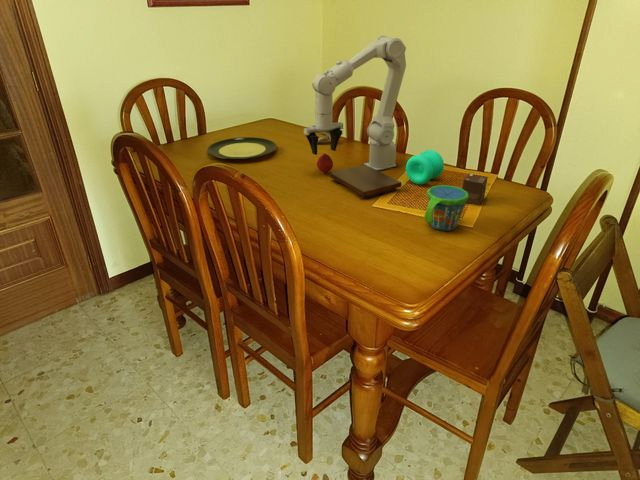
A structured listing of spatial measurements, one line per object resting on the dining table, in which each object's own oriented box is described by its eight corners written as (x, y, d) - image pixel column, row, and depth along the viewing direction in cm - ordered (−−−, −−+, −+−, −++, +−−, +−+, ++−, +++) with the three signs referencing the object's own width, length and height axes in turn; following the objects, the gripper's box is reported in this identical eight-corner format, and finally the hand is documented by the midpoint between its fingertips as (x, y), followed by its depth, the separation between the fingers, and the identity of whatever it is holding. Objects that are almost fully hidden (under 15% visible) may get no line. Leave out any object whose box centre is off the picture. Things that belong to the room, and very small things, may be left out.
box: (479, 205, 137) (483, 183, 133) (459, 201, 139) (462, 179, 136) (484, 198, 141) (488, 176, 137) (465, 194, 144) (468, 173, 140)
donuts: (402, 181, 154) (405, 153, 149) (418, 173, 161) (421, 146, 156) (428, 189, 148) (431, 160, 143) (443, 180, 155) (447, 152, 150)
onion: (335, 171, 163) (335, 150, 159) (330, 177, 158) (330, 155, 154) (319, 170, 165) (319, 148, 161) (314, 175, 160) (314, 153, 156)
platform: (365, 172, 162) (365, 164, 161) (400, 190, 147) (401, 182, 146) (329, 180, 156) (329, 172, 154) (363, 200, 141) (363, 191, 139)
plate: (290, 149, 186) (290, 143, 185) (246, 169, 166) (246, 162, 165) (239, 138, 200) (239, 133, 198) (192, 156, 179) (191, 150, 178)
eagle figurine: (336, 136, 197) (316, 132, 197) (338, 125, 190) (317, 121, 190) (333, 150, 193) (312, 145, 193) (335, 139, 187) (313, 135, 187)
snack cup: (447, 212, 133) (452, 179, 128) (476, 225, 125) (482, 191, 120) (409, 226, 125) (412, 192, 120) (438, 241, 118) (443, 206, 113)
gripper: (335, 107, 156) (335, 145, 163) (299, 113, 150) (300, 152, 157) (347, 111, 151) (346, 150, 158) (309, 117, 145) (310, 158, 151)
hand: (324, 152), depth 157 cm, fingers open, 7 cm apart
